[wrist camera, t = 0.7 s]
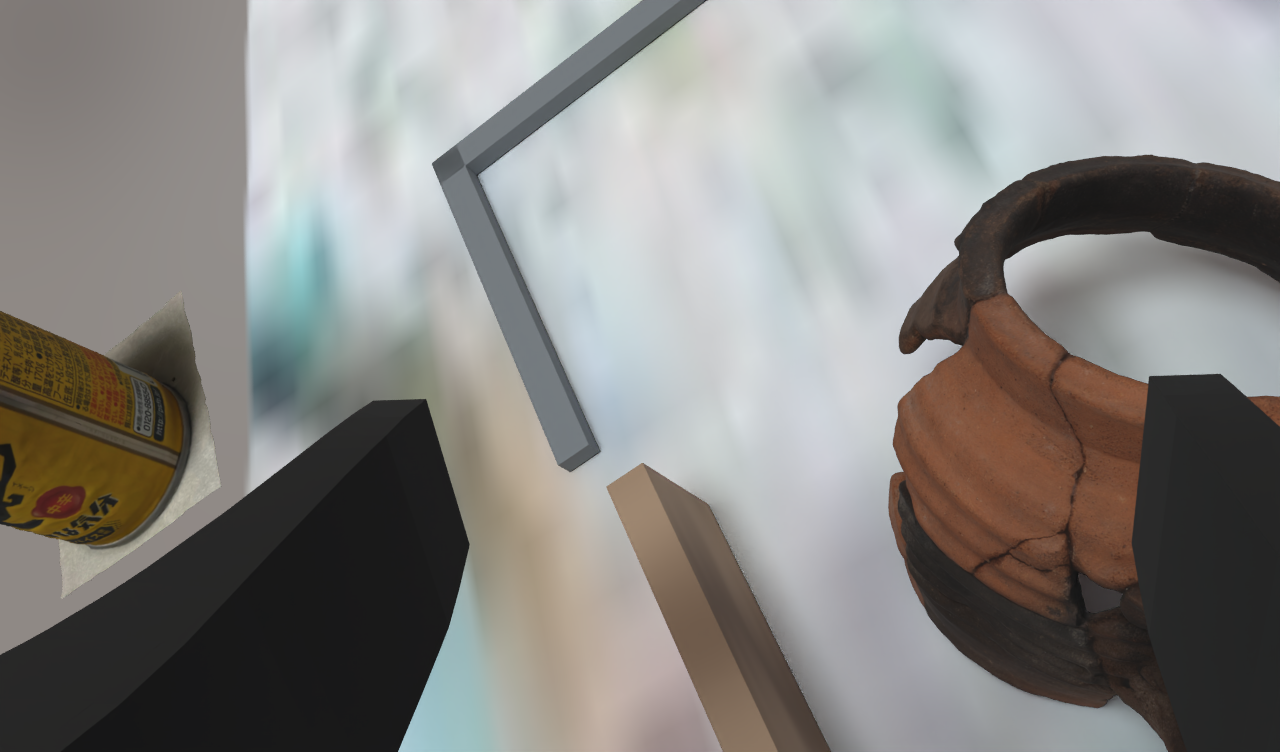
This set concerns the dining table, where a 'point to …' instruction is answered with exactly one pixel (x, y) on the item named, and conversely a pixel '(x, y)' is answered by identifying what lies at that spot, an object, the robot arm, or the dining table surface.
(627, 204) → the dining table surface
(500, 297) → the frame
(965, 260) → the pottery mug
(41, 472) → the condiment
